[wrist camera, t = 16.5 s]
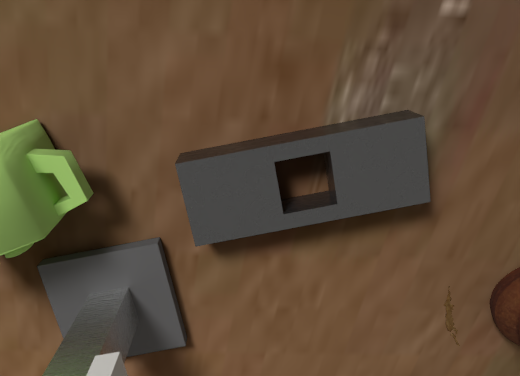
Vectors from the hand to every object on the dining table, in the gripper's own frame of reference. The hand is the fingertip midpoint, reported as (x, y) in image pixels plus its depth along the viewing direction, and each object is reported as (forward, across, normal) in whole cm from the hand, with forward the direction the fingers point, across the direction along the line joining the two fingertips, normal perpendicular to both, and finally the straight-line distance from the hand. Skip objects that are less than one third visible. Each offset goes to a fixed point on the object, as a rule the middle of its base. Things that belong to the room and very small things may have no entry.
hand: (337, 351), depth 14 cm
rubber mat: (+31, -19, -14) cm, 39 cm away
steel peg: (+29, -19, -14) cm, 38 cm away
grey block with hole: (+32, +2, -4) cm, 32 cm away
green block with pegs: (+31, -26, -1) cm, 41 cm away
